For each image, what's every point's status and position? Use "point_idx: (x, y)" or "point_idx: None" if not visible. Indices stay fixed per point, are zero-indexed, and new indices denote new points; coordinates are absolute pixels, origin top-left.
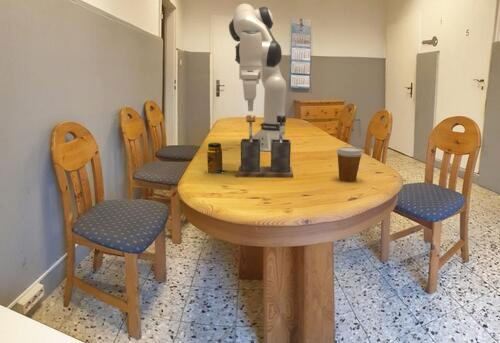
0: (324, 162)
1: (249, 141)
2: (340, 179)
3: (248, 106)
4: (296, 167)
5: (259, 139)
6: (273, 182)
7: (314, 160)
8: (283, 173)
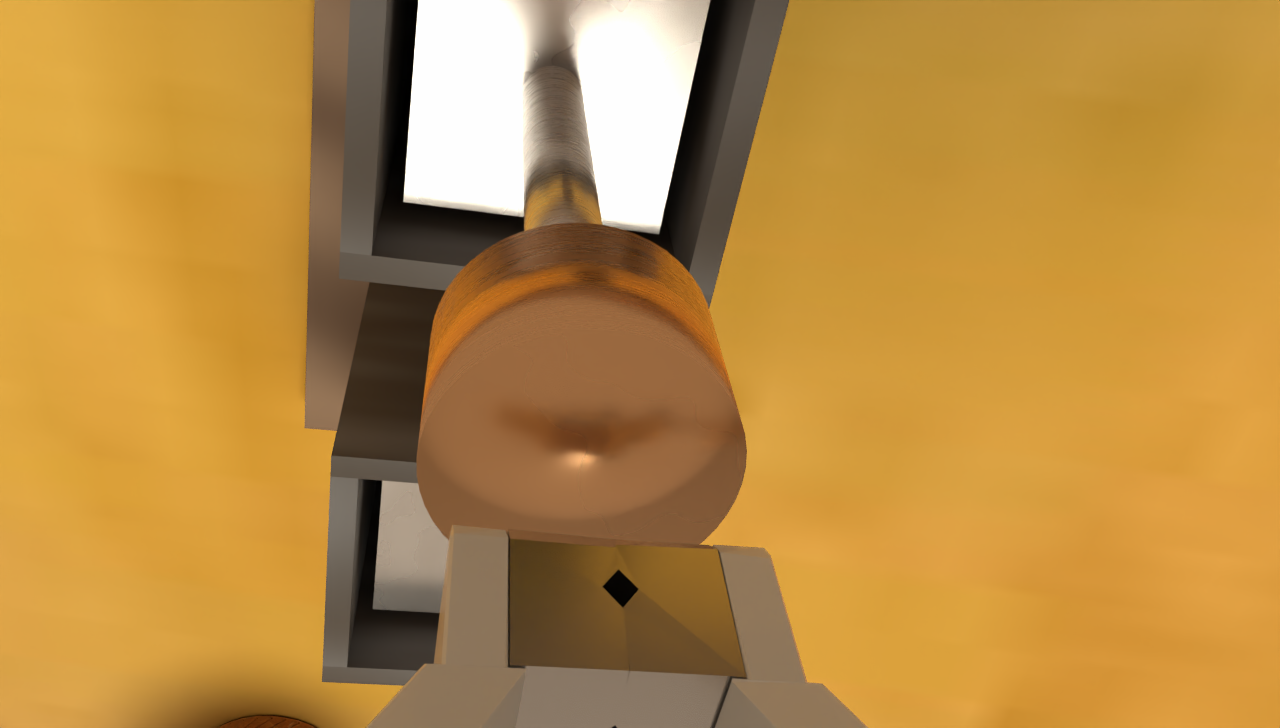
0: (887, 719)
1: (536, 93)
2: (240, 723)
3: (420, 684)
4: (749, 492)
5: None
6: (86, 179)
7: (991, 667)
8: (326, 339)
